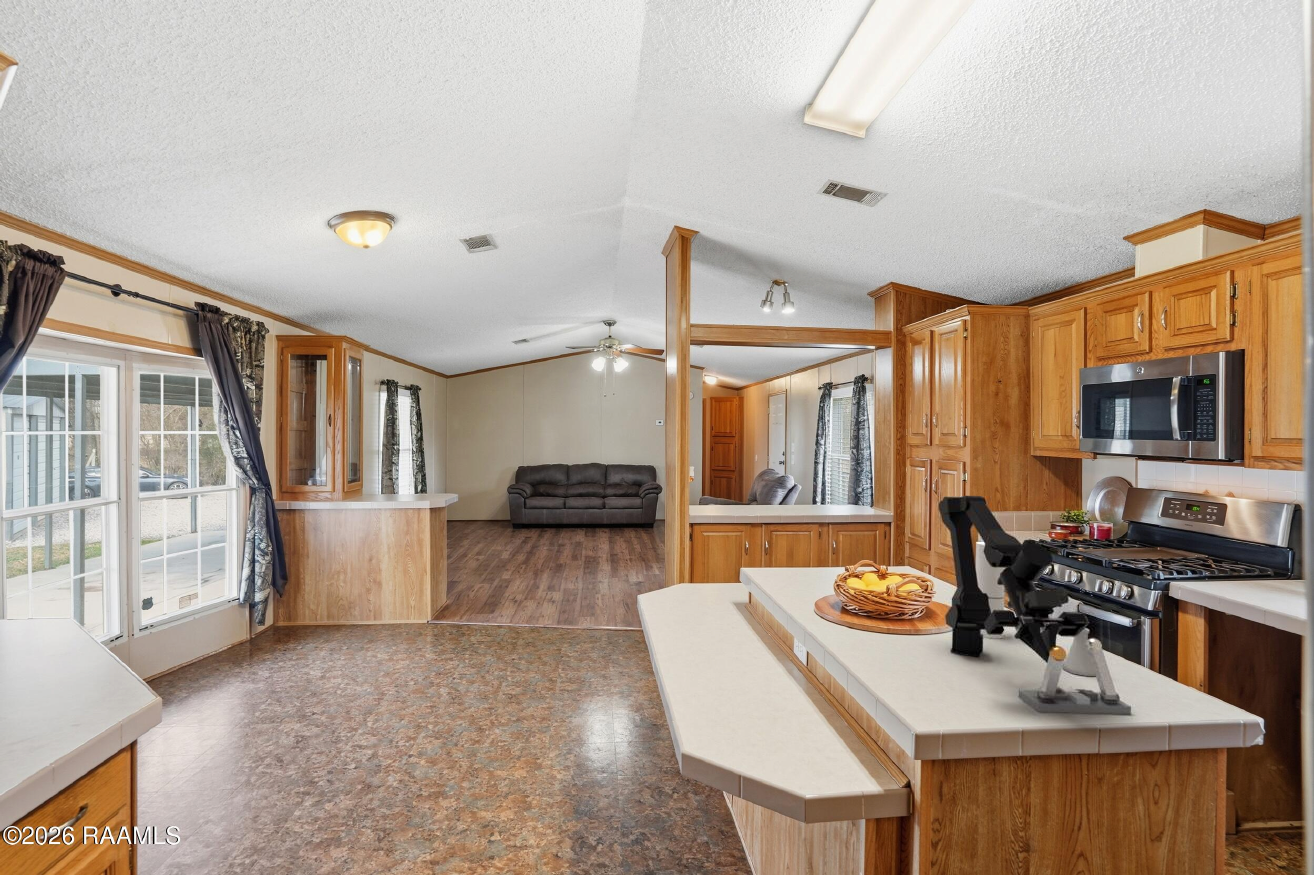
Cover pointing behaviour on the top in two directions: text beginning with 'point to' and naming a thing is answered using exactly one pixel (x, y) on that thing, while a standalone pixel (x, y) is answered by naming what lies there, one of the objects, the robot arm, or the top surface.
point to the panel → (1074, 702)
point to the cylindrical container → (989, 583)
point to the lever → (1101, 671)
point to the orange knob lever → (1052, 674)
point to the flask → (1079, 656)
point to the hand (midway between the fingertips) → (1052, 662)
